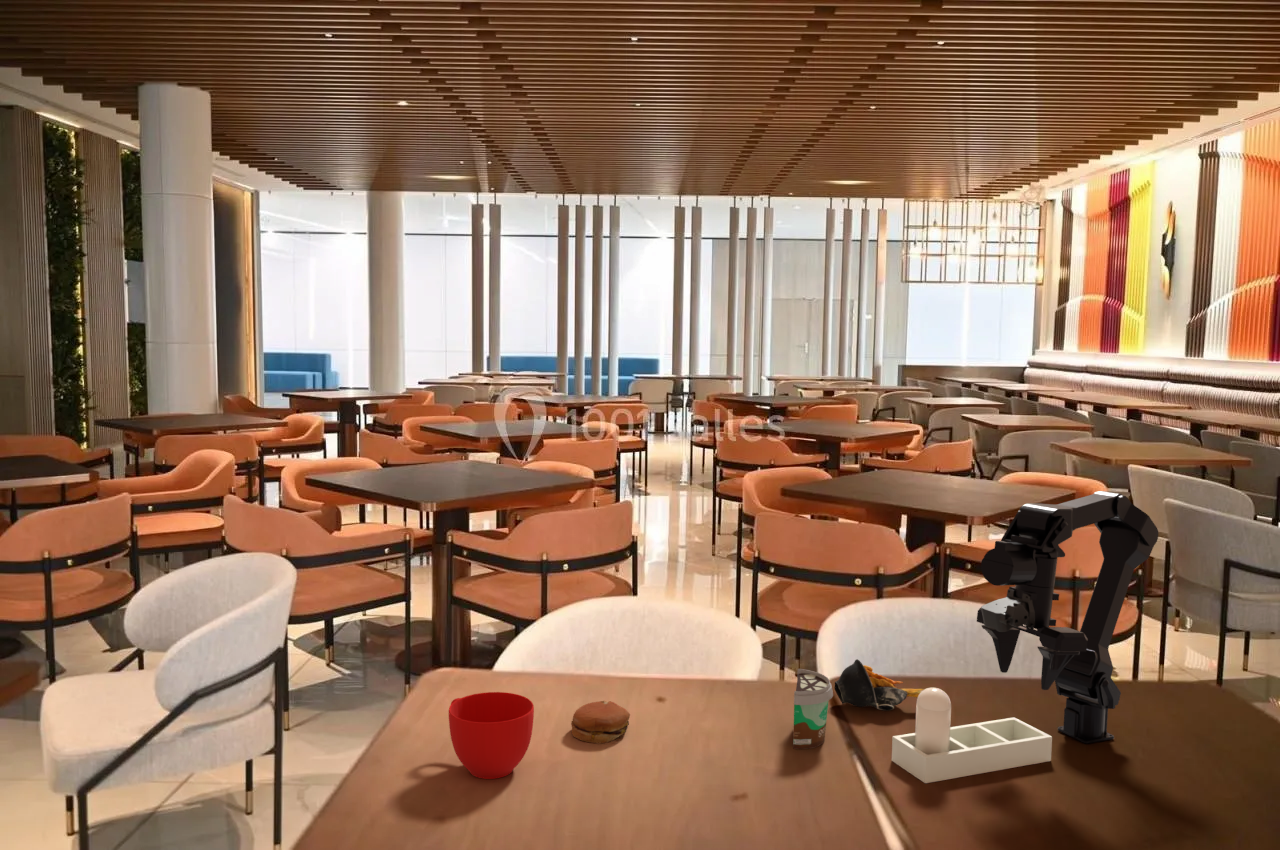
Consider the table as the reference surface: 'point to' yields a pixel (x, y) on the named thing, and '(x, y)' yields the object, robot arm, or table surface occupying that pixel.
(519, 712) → the ceramic cup
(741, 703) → the table surface
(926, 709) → the cream capsule cylinder
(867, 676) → the fried shrimp in bowl
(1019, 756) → the compartment tray
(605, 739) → the burger
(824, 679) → the food container
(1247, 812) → the table surface
